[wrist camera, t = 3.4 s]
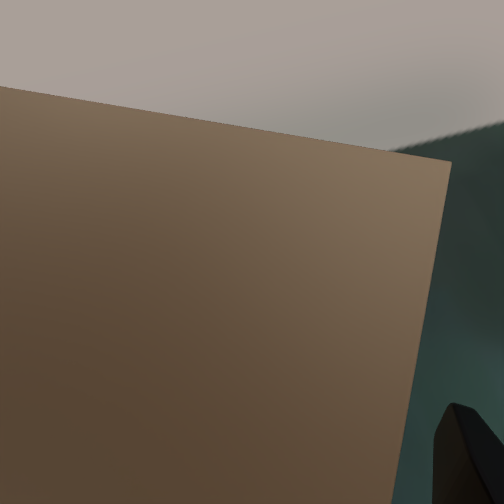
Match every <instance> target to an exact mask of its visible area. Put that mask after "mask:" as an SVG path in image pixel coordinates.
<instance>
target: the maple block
mask: <svg viewBox="0 0 504 504" xmlns="http://www.w3.org/2000/svg"><path fill="white" fill-rule="evenodd" d="M451 164H452V162H450V161H444V160H438V159H432V158H426V157H420V156H414V155H408V154H402V153H396V152H390V151H384V150H378V149H372V148H366V147H359V146H354V145H348V144H342V143H336V142H330V141H324V140H318V139H312V138H306V137H300V136H294V135H288V134H282V133H276V132H270V131H264V130H258V129H252V128H246V127H240V126H234V125H228V124H222V123H217V122H210V121H205V120H199V119H193V118H187V117H180V116H174V115H168V114H162V113H157V112H151V111H145V110H139V109H132V108H126V107H121V106H115V105H109V104H103V103H97V102H91V101H85V100H79V99H73V98H67V97H61V96H55V95H49V94H43V93H37V92H31V91H25V90H19V89H13V88H7V87H1V86H0V504H391V501H392V496H393V490H394V484H395V479H396V473H397V467H398V462H399V456H400V451H401V445H402V439H403V434H404V428H405V423H406V417H407V411H408V406H409V400H410V394H411V389H412V383H413V378H414V372H415V366H416V361H417V355H418V350H419V344H420V338H421V333H422V327H423V321H424V316H425V310H426V305H427V299H428V293H429V288H430V282H431V276H432V271H433V265H434V260H435V254H436V248H437V243H438V237H439V232H440V226H441V220H442V215H443V209H444V203H445V198H446V192H447V187H448V181H449V175H450V170H451Z"/></svg>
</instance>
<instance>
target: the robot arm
mask: <svg viewBox="0 0 504 504" xmlns="http://www.w3.org/2000/svg"><path fill="white" fill-rule="evenodd" d="M432 504H504V445H503V444H502V442H501V441H500V440H499V439H498V437H497V436H496V435H495V434H494V433H493V431H492V430H491V429H490V428H489V426H488V425H487V424H486V423H485V421H484V420H483V419H482V418H481V416H480V415H479V414H478V413H477V412H476V411H475V410H474V409H472V408H470V407H467V406H464V405H461V404H457V403H450V404H449V405H448V407H447V408H446V410H445V413H444V415H443V417H442V419H441V421H440V423H439V425H438V427H437V429H436V432H435V436H434V448H433V492H432Z"/></svg>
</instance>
